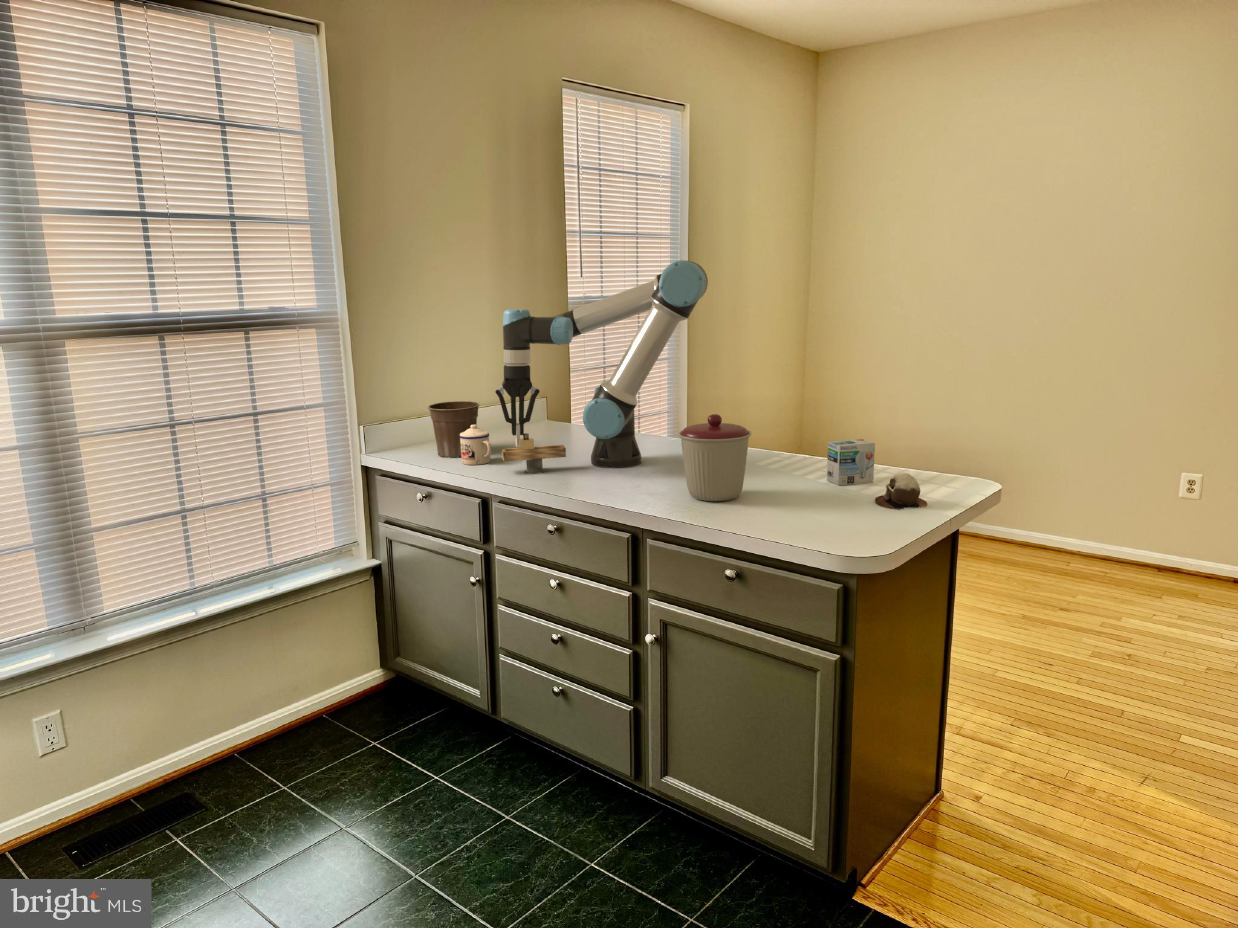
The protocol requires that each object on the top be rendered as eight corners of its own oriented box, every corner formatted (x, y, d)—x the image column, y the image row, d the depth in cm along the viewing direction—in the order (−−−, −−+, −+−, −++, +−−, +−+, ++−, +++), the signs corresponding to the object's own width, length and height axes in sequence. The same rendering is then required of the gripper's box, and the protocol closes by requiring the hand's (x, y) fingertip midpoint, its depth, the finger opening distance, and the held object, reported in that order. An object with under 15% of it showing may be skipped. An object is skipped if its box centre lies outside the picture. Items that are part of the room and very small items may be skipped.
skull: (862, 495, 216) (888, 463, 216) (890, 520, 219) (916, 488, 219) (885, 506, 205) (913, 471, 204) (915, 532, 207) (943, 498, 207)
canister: (694, 509, 212) (693, 422, 207) (669, 492, 228) (667, 411, 224) (763, 501, 216) (764, 417, 212) (733, 485, 233) (733, 406, 229)
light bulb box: (838, 486, 230) (839, 445, 227) (825, 480, 236) (826, 441, 234) (874, 482, 233) (876, 442, 230) (861, 477, 239) (862, 438, 237)
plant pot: (473, 459, 275) (469, 408, 272) (423, 459, 278) (420, 408, 274) (488, 449, 291) (485, 401, 287) (442, 449, 293) (438, 401, 290)
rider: (533, 451, 257) (532, 432, 256) (534, 453, 255) (533, 434, 253) (519, 452, 256) (518, 433, 255) (520, 454, 254) (519, 434, 253)
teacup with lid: (455, 463, 271) (452, 425, 269) (478, 458, 278) (476, 421, 275) (479, 468, 263) (477, 429, 261) (503, 462, 270) (501, 425, 267)
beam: (563, 466, 262) (562, 444, 260) (566, 470, 256) (565, 448, 255) (502, 471, 258) (501, 448, 257) (504, 475, 252) (503, 452, 251)
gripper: (537, 363, 255) (537, 443, 259) (493, 363, 252) (495, 444, 257) (540, 365, 248) (541, 448, 252) (495, 365, 245) (497, 449, 250)
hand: (517, 446), depth 254 cm, fingers closed
